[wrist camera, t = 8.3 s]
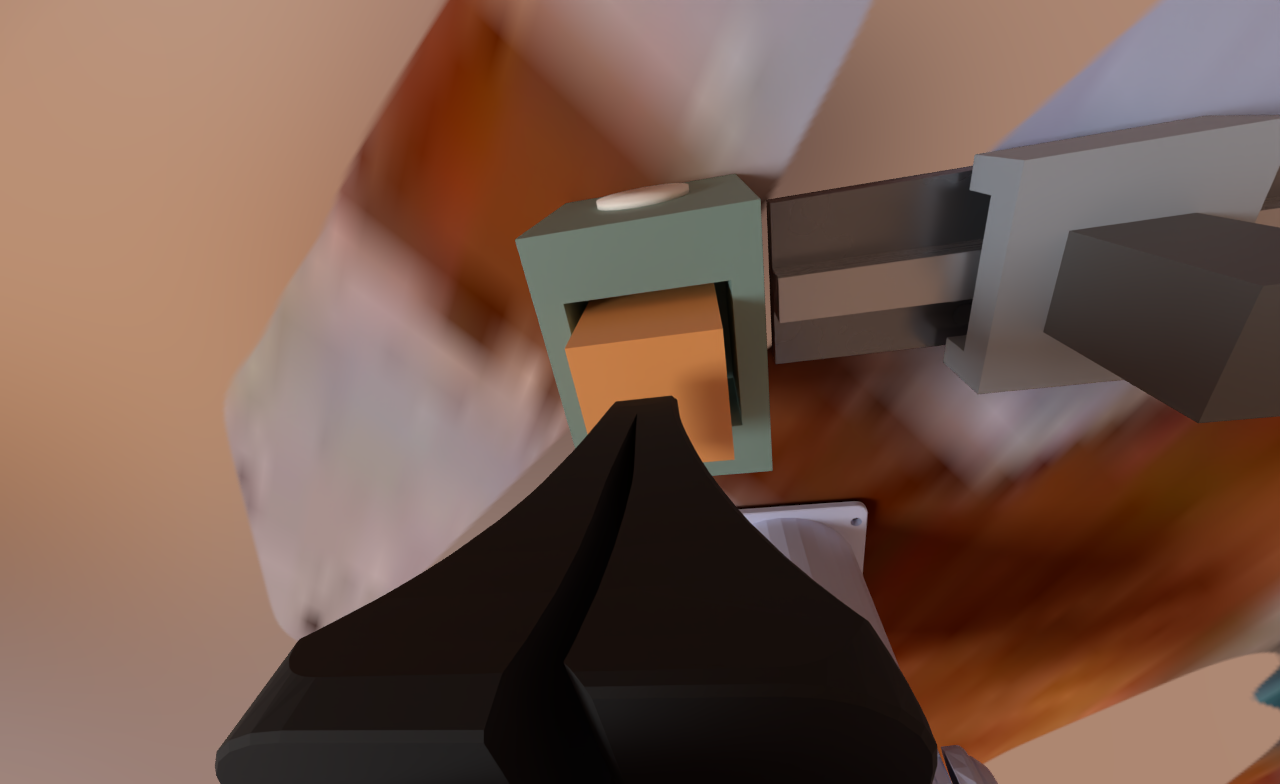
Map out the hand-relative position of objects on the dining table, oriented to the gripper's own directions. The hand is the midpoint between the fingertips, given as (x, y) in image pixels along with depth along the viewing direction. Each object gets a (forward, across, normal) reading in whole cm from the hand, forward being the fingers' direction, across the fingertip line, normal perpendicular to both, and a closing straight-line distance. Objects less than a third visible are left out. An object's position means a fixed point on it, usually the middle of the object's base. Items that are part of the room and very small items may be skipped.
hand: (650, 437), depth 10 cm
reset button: (+5, 0, 0) cm, 5 cm away
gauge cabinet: (+9, 0, 0) cm, 9 cm away
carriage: (+8, -13, 0) cm, 15 cm away
